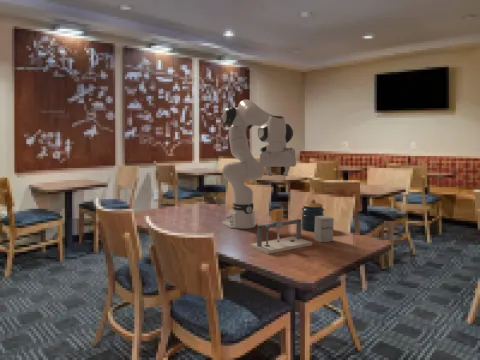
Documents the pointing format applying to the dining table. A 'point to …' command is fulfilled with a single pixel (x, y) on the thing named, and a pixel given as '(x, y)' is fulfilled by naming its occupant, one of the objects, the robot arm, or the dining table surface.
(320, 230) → the supplement box
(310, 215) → the canister
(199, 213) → the dining table surface
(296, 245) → the hole plate
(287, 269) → the dining table surface
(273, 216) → the leg
